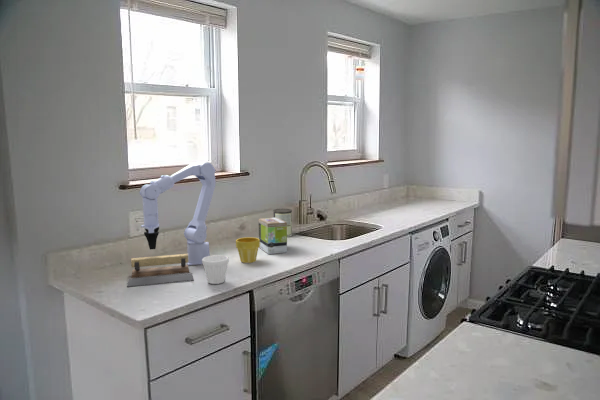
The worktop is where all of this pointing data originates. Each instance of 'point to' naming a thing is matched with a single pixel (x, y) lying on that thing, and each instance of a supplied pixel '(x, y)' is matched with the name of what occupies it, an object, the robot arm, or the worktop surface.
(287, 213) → the coffee can
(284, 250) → the tea box
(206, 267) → the cup
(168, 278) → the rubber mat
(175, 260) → the brass rail
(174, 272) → the hook rack
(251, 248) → the plant pot
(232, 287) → the worktop surface
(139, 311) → the worktop surface
